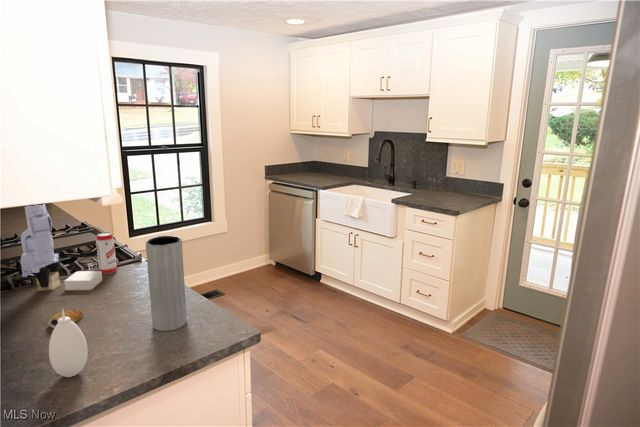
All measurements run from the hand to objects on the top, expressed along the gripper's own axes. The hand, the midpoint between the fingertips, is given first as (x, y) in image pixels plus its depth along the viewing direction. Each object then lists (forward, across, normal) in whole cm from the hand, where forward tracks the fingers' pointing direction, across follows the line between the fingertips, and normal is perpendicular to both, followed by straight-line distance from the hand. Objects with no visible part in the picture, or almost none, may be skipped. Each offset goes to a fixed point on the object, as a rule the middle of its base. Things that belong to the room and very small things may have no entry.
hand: (48, 283), depth 149 cm
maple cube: (+1, 0, 0) cm, 1 cm away
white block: (+2, +2, -12) cm, 12 cm away
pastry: (+2, -27, -18) cm, 32 cm away
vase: (+2, -30, -50) cm, 58 cm away
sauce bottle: (+2, -54, -32) cm, 63 cm away
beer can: (+2, +14, -16) cm, 21 cm away
